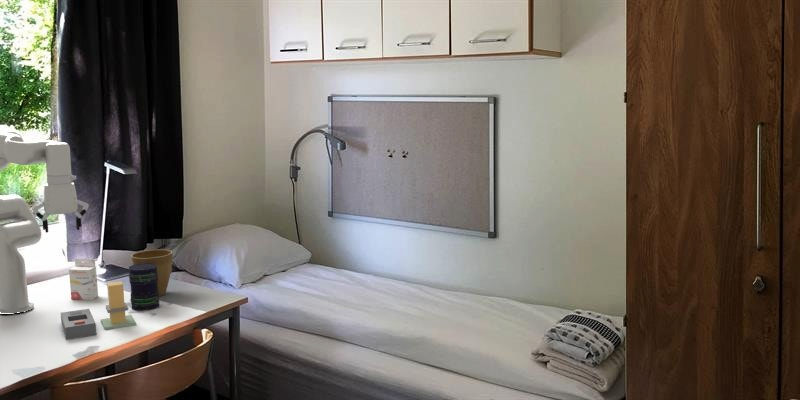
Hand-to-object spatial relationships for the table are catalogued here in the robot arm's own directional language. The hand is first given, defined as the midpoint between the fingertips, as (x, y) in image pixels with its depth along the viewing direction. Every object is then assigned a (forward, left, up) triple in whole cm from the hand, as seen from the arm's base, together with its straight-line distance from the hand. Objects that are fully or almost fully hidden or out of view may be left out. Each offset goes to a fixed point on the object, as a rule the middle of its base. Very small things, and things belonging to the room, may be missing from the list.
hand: (62, 230), depth 263 cm
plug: (+11, +14, -31) cm, 36 cm away
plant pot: (-19, +32, -32) cm, 48 cm away
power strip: (+11, +2, -32) cm, 34 cm away
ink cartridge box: (-28, +8, -32) cm, 43 cm away
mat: (+11, +14, -32) cm, 36 cm away
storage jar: (-4, +26, -32) cm, 41 cm away
